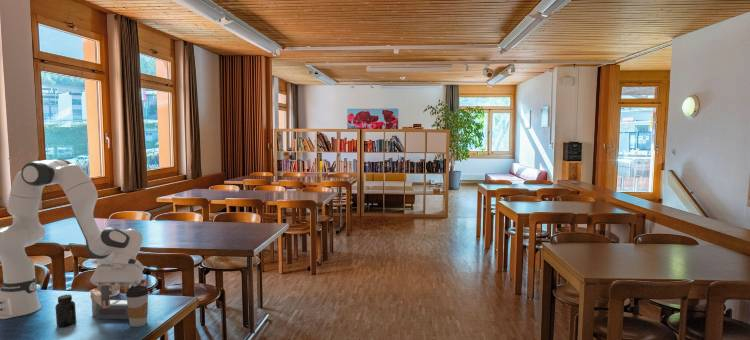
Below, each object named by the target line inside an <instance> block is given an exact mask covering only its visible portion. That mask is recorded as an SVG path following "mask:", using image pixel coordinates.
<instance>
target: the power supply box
mask: <svg viewBox="0 0 750 340" xmlns="http://www.w3.org/2000/svg"><path fill="white" fill-rule="evenodd" d="M91 312H92V314H91V315H92V316H91V317H93V318H95V317H96V319H98V320H99V319H101V320H102V319H104V320H105V319H106V320H107V319H108V320H111V319H112V320H129V315H128V307H127V299H121V300H120V299H110V307H107V308H103V307H102V306H100V305H99V304H98V303H97V302H95V301H94V300H93V299H91Z"/></svg>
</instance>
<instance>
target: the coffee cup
mask: <svg viewBox="0 0 750 340" xmlns="http://www.w3.org/2000/svg"><path fill="white" fill-rule="evenodd" d="M125 294H126V295H125V296H126V300H127V307H128V315H129V319H128V320H129V321H128V322H129V325H130V327H133V328H138V327H142V326H145V325H146V324H147V322H148V311H149V307H148V306H149V302H148V301H149V300H148V299H149V289H148V286H146V285H134V286H132V287H131V286H130V287H129V288H128V289H127V290H126V292H125Z"/></svg>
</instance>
